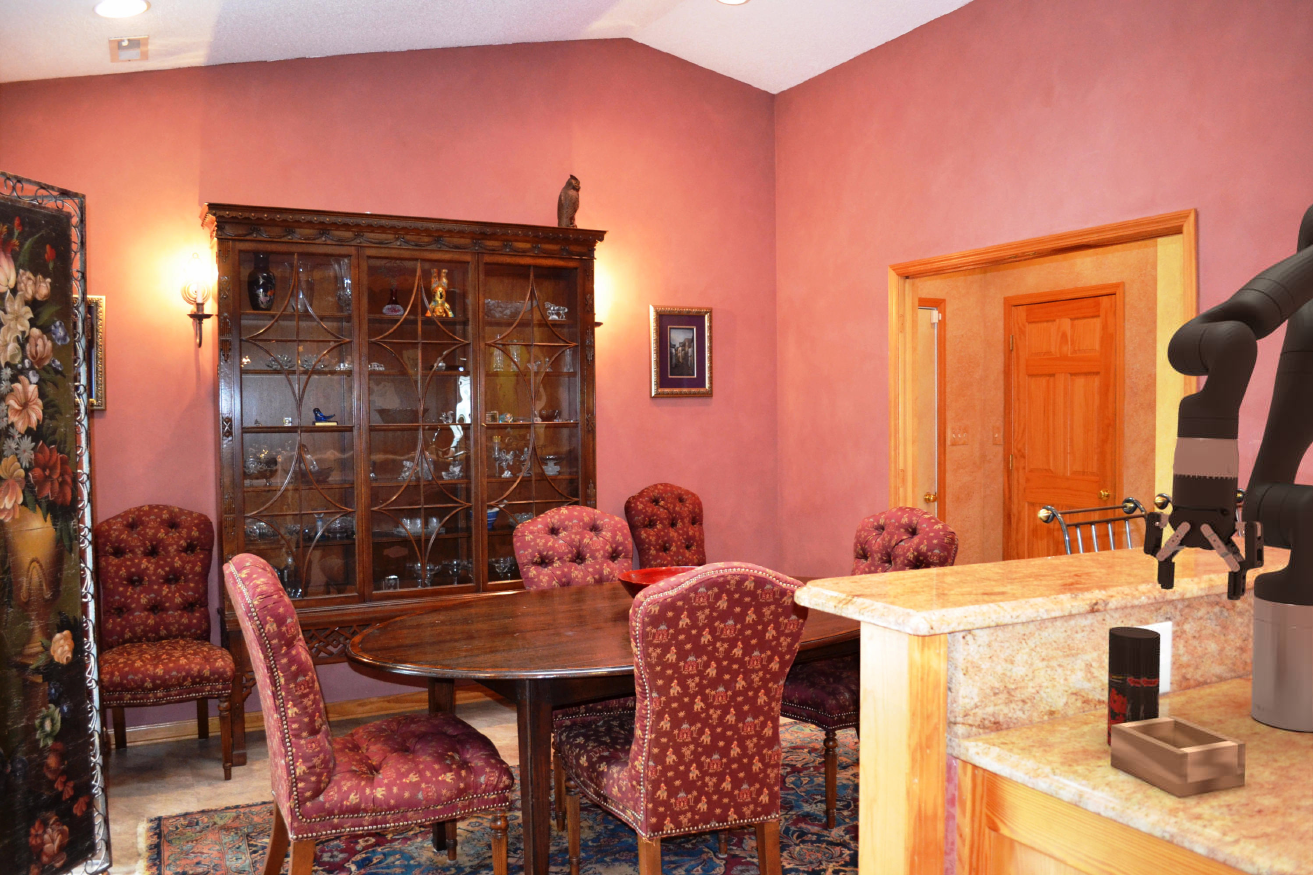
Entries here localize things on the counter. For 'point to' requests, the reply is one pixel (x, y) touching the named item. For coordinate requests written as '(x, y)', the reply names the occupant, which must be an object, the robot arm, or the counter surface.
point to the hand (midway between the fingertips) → (1199, 594)
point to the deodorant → (1133, 676)
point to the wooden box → (1178, 755)
